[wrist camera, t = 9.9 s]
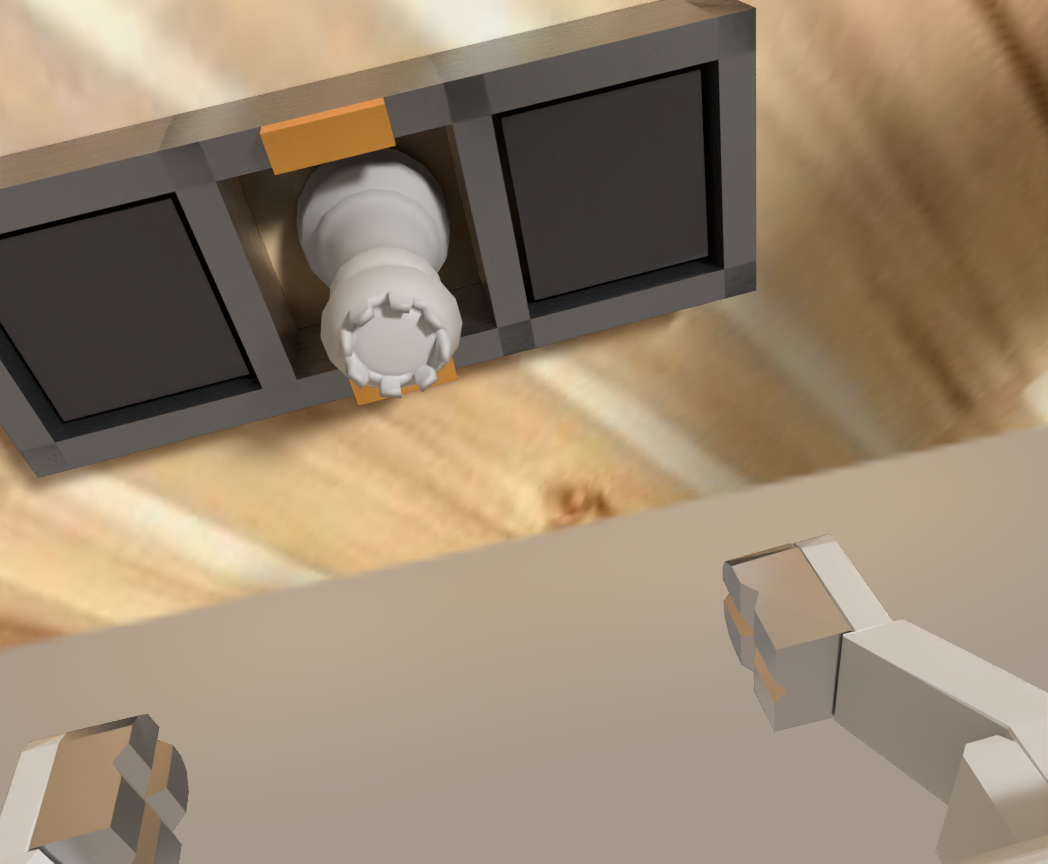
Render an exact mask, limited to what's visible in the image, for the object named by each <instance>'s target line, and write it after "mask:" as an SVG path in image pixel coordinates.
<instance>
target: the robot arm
mask: <svg viewBox="0 0 1048 864" xmlns="http://www.w3.org/2000/svg"><path fill="white" fill-rule="evenodd" d="M723 581H724V583H725V585H726V587H727V589H728V591H729V594H728V596H727V597H726V598H725V600H724V612H725V619H726V624H727V628H728V632H729V636H730V638H731V641H732V644H733V646H734V649H735V651H736V654H737V656H738V658H739V660H740V662H741V664H742V665H744V666H745V667H747V668H748V669H750V670H752V671H753V672H754V691H755V693H756V695H757V698H758V699H759V702H760V704H761V706H762V708H763V710H764V712H765V714H766V716H767V718H768V720H769V722H770V724H771V726H772V728H773V730H774V732H775V731H779V730H783V729H787V728H791V727H796V726H800V725H804V724H808V723H811V722H816V721H820V720H824V719H829V718H833V717H834V721H836V722H837V723H838V724H840V725H841V726H842V727H844V728H845V729H846V730H848V731H849V732H850V733H852V734H853V735H854V736H856V737H857V738H858V739H860V740H861V741H862V742H864V743H865V744H867V745H868V746H869V747H871V748H872V749H873V750H874V751H876V752H877V753H879V754H880V755H881V756H883V757H884V758H885V759H887V760H888V761H889V762H891V763H892V764H893V765H895V766H896V767H897V768H899V769H900V770H901V771H903V772H904V773H905V774H907V775H908V776H909V777H911V778H912V779H913V780H915V781H916V782H918V783H919V784H920V785H922V786H923V787H924V788H926V789H927V790H929V791H930V792H931V793H932V794H934V795H935V796H936V797H938V798H939V799H940V800H942V801H943V802H944V803H946V804H947V805H948V809H947V813H946V816H945V820H944V823H943V826H942V830H941V833H940V837H939V840H938V844H937V847H936V851H935V852H936V854H937V855H938V857H939V859H940V861H941V863H942V864H1048V693H1047V692H1045V691H1043V690H1041V689H1039V688H1037V687H1035V686H1033V685H1031V684H1029V683H1027V682H1025V681H1023V680H1021V679H1019V678H1017V677H1015V676H1014V675H1012V674H1010V673H1007V672H1006V671H1004V670H1002V669H1000V668H998V667H996V666H994V665H992V664H990V663H988V662H986V661H984V660H982V659H980V658H978V657H977V656H974V655H973V654H971V653H969V652H967V651H965V650H963V649H961V648H959V647H957V646H955V645H953V644H951V643H949V642H947V641H945V640H943V639H941V638H939V637H938V636H935V635H933V634H932V633H930V632H927V631H926V630H924V629H922V628H920V627H918V626H916V625H914V624H912V623H910V622H908V621H906V620H904V619H899V620H895V621H892V620H891V618H890V617H889V615H888V614H887V613H886V611H885V610H884V608H883V607H882V605H881V604H880V603H879V601H878V600H877V598H876V597H875V595H874V594H873V593H872V591H871V590H870V588H869V587H868V586H867V584H866V583H865V581H864V580H863V578H862V577H861V575H860V574H859V573H858V571H857V570H856V568H855V567H854V566H853V564H852V563H851V561H850V560H849V558H848V557H847V555H846V554H845V553H844V551H843V550H842V548H841V547H840V545H839V544H838V543H837V541H836V540H835V538H833V537H831V536H829V535H823V536H820V537H816V538H812V539H808V540H804V541H800V542H796V543H793V544H787V545H783V546H779V547H775V548H772V549H769V550H765V551H761V552H757V553H754V554H750V555H746V556H743V557H739V558H736V559H732V560H728V561H725V563H724V566H723ZM158 731H159V727H158V725H157V724H156V723H155V722H154V721H153V720H152V719H151V717H150V716H149V715H148V714H145V715H139V716H135V717H131V718H126V719H122V720H118V721H114V722H110V723H105V724H101V725H97V726H92V727H88V728H84V729H79V730H75V731H71V732H67V733H63V734H59V735H55V736H51V737H47V738H44V739H39V740H35V741H31V742H30V743H29V744H28V745H27V746H26V748H25V749H24V750H23V751H22V753H21V755H20V757H19V760H18V763H17V766H16V769H15V772H14V775H13V779H12V782H11V785H10V788H9V791H8V794H7V797H6V800H5V803H4V806H3V809H2V812H1V815H0V864H179V859H180V853H181V845H182V844H181V843H180V841H179V840H178V839H177V837H176V836H175V834H174V833H173V830H174V829H175V827H176V826H177V825H178V823H179V822H180V820H181V819H182V818H183V816H184V815H185V813H186V809H187V802H188V793H189V790H188V781H187V771H186V768H185V765H184V763H183V760H182V758H181V755H180V754H179V753H178V751H177V750H176V749H175V747H174V746H173V745H170V744H167V743H165V742H161V741H159V740H157V737H158Z"/></svg>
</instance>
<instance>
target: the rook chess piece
mask: <svg viewBox="0 0 1048 864" xmlns="http://www.w3.org/2000/svg"><path fill="white" fill-rule="evenodd" d="M451 228H452V227H451V223H450V214H449V210H448V207H447V203H446V199H445V196H444V192H443V189H442V187H441V186H440V184H439V183H438V182H437V181H436V179H435V178H434V177H433V176H432V174H431V173H430V172H429V171H428V169H427V168H426V167H425V166H424V164H422V163H420V162H418V161H416V160H415V159H413V158H411V157H409V156H407V155H405V154H404V153H402V152H400V151H398V150H396V149H388V148H384V149H380V150H376V151H372V152H368V153H364V154H360V155H356V156H351V157H347V158H343V159H339V160H335V161H331V162H327V163H323V164H322V165H321V166H320V167H318V168H317V169H316V170H315V171H314V172H312V173H311V174H310V176H309V178H308V180H307V182H306V184H305V186H304V188H303V190H302V192H301V194H300V196H299V198H298V203H297V232H298V234H299V243H300V245H301V248H302V250H303V253H304V255H305V258H306V260H307V263H308V265H309V267H310V269H311V270H312V271H313V272H314V273H315V274H316V275H317V276H318V278H319V279H320V280H321V281H322V282H323V283H324V284H325V285H326V286H327V287H328V288H329V289H330V299H329V301H328V303H327V305H326V307H325V308H324V310H323V312H322V321H321V340H322V343H323V345H324V347H325V350H326V352H327V355H328V357H329V359H330V361H331V362H332V363H333V364H334V365H335V366H336V367H337V368H338V369H339V370H340V371H341V372H342V373H344V374H345V375H346V376H347V377H348V378H349V379H350V380H351V381H352V382H353V383H354V384H356V385H357V386H358V387H359V388H360V389H361V388H362V387H363V386H364V385H367V386H369V387H372V388H379V392H380V397H390V398H401V389H402V388H405V387H409V386H412V385H415V384H417V385H418V387H419V388H420V390H421V391H422V392H423V391H424V390H425V389H427V388H428V387H430V386H431V385H432V384H434V383H435V382H436V381H438V380H439V379H438V375H437V373H438V372H439V371H440V370H442V369H443V368H444V367H446V365H447V364H448V363H449V362H450V359H451V357H452V356H453V354H454V353H455V351H456V350H457V348H458V347H459V341H460V335H461V329H462V319H461V315H460V312H459V309H458V305H457V302H456V299H455V298H454V296H453V295H452V294H451V293H450V292H449V291H448V290H447V288H446V287H445V286H444V285H443V284H442V283H441V281H440V277H439V275H438V274H437V273H438V272H439V270H440V268H441V267H442V265H443V263H444V262H445V260H446V258H447V255H448V250H449V243H450V236H451Z"/></svg>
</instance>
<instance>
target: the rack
mask: <svg viewBox="0 0 1048 864" xmlns="http://www.w3.org/2000/svg"><path fill="white" fill-rule="evenodd" d="M442 126H445V128H446V132H447V136H448V141H449V145H450V150H451V154H452V159H453V163H454V167H455V172H456V176H457V181H458V185H459V189H460V194H461V198H462V203H463V207H464V212H465V216H466V220H467V225H468V229H469V234H470V238H471V242H472V247H473V251H474V256H475V260H476V264H477V269H478V273H479V278H480V282H481V283H479V284H475V285H471V286H468V287H464V288H460V289H456V290H452V291H449V292H450V293H451V294H452V295H453V296H454V298H455V299H456V302H457V305H458V309H459V312H460V315H461V319H462V329H461V335H460V341H459V347H458V348H457V350H456V351H455V353H454V354H453V356H452V357H451V359H450V362H449V363H448V364H447V365H446V367H444V368H443V369H442V370H440V371H439V372H438V373H437V375H438V379H439V380H438V381H436V382H435V383H434V384H432V385H431V386H435V385H439V384H443V383H447V382H451V381H454V380H458V377H457V373H456V369H457V368H461V367H465V366H468V365H472V364H476V363H480V362H484V361H488V360H491V359H495V358H499V357H503V356H507V355H510V354H514V353H518V352H522V351H526V350H530V349H533V348H537V347H541V346H545V345H549V344H553V343H556V342H560V341H564V340H568V339H572V338H576V337H579V336H583V335H587V334H591V333H595V332H599V331H602V330H606V329H610V328H614V327H618V326H622V325H625V324H629V323H633V322H637V321H641V320H645V319H648V318H652V317H656V316H660V315H664V314H668V313H671V312H675V311H679V310H683V309H687V308H690V307H694V306H698V305H702V304H706V303H710V302H713V301H717V300H721V299H725V298H729V297H733V296H736V295H740V294H744V293H748V292H752V291H756V8H755V7H752V6H750V5H748V4H745V3H743V2H741V1H738V0H659V1H655V2H651V3H646V4H642V5H638V6H634V7H630V8H625V9H621V10H617V11H613V12H608V13H604V14H600V15H596V16H592V17H587V18H583V19H579V20H575V21H571V22H566V23H562V24H558V25H554V26H549V27H545V28H541V29H537V30H533V31H528V32H524V33H520V34H516V35H512V36H507V37H503V38H499V39H495V40H491V41H486V42H482V43H478V44H474V45H469V46H465V47H461V48H457V49H453V50H448V51H444V52H440V53H436V54H432V55H427V56H423V57H419V58H415V59H410V60H406V61H402V62H398V63H394V64H389V65H385V66H381V67H377V68H373V69H368V70H364V71H360V72H356V73H352V74H347V75H343V76H339V77H335V78H330V79H326V80H322V81H318V82H314V83H309V84H305V85H301V86H297V87H293V88H288V89H284V90H280V91H276V92H271V93H267V94H263V95H259V96H255V97H250V98H246V99H242V100H238V101H234V102H229V103H225V104H221V105H217V106H213V107H208V108H204V109H200V110H196V111H191V112H187V113H183V114H179V115H175V116H170V117H166V118H162V119H158V120H154V121H149V122H145V123H141V124H137V125H132V126H128V127H124V128H120V129H116V130H111V131H107V132H103V133H99V134H95V135H90V136H86V137H82V138H78V139H74V140H69V141H65V142H61V143H57V144H52V145H48V146H44V147H40V148H36V149H31V150H27V151H23V152H19V153H15V154H10V155H6V156H2V157H0V424H1V426H2V427H3V429H4V430H5V431H6V433H7V434H8V436H9V437H10V439H11V440H12V441H13V443H14V444H15V446H16V447H17V449H18V450H19V451H20V453H21V454H22V456H23V457H24V459H25V460H26V461H27V463H28V464H29V466H30V467H31V469H32V470H33V471H34V473H35V474H36V476H37V477H38V478H39V477H43V476H47V475H51V474H55V473H59V472H62V471H66V470H70V469H74V468H78V467H82V466H85V465H89V464H93V463H97V462H101V461H105V460H108V459H112V458H116V457H120V456H124V455H128V454H131V453H135V452H139V451H143V450H147V449H151V448H154V447H158V446H162V445H166V444H170V443H173V442H177V441H181V440H185V439H189V438H193V437H196V436H200V435H204V434H208V433H212V432H216V431H219V430H223V429H227V428H231V427H235V426H239V425H242V424H246V423H250V422H254V421H258V420H262V419H265V418H269V417H273V416H277V415H281V414H285V413H288V412H292V411H296V410H300V409H304V408H308V407H311V406H315V405H319V404H323V403H327V402H331V401H334V400H338V399H342V398H346V397H350V396H353V395H355V397H356V400H357V403H358V406H359V405H363V404H367V403H370V402H374V401H378V400H382V399H386V398H389V397H380V392H379V388H372V387H369V386H367V385H364V386H363V387H362V388H361V389H360V388H359V387H358V386H357V385H356V384H354V383H353V382H352V381H351V380H350V379H349V378H348V377H347V376H346V375H345V374H344V373H342V372H341V371H340V370H339V369H338V368H337V367H336V366H335V365H334V364H333V363H332V362H331V361H330V359H329V357H328V355H327V352H326V350H325V347H324V345H323V343H322V340H321V324H319V325H315V326H311V327H307V328H303V329H299V330H297V327H296V325H295V322H294V319H293V317H292V314H291V312H290V309H289V307H288V304H287V302H286V299H285V296H284V294H283V291H282V289H281V286H280V284H279V281H278V279H277V276H276V273H275V271H274V268H273V266H272V263H271V261H270V258H269V256H268V253H267V250H266V248H265V245H264V243H263V240H262V238H261V235H260V233H259V230H258V227H257V225H256V222H255V220H254V217H253V215H252V212H251V210H250V207H249V204H248V202H247V199H246V197H245V194H244V192H243V189H242V187H241V184H240V181H239V179H238V176H240V175H244V174H249V173H253V172H257V171H261V170H265V169H269V168H272V169H273V172H274V174H275V175H278V174H282V173H286V172H290V171H294V170H298V169H302V168H306V167H310V166H315V165H319V164H323V163H327V162H331V161H335V160H339V159H343V158H347V157H351V156H356V155H360V154H364V153H368V152H372V151H376V150H380V149H384V148H388V147H393V146H396V144H395V140H394V138H397V137H401V136H405V135H409V134H413V133H417V132H421V131H426V130H430V129H434V128H438V127H442ZM521 272H522V273H521ZM431 386H430V387H431ZM416 390H420V388H419V387H418V385H417V384H415V385H412V386H409V387H405V388H402V389H401V394H405V393H409V392H412V391H416Z"/></svg>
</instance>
